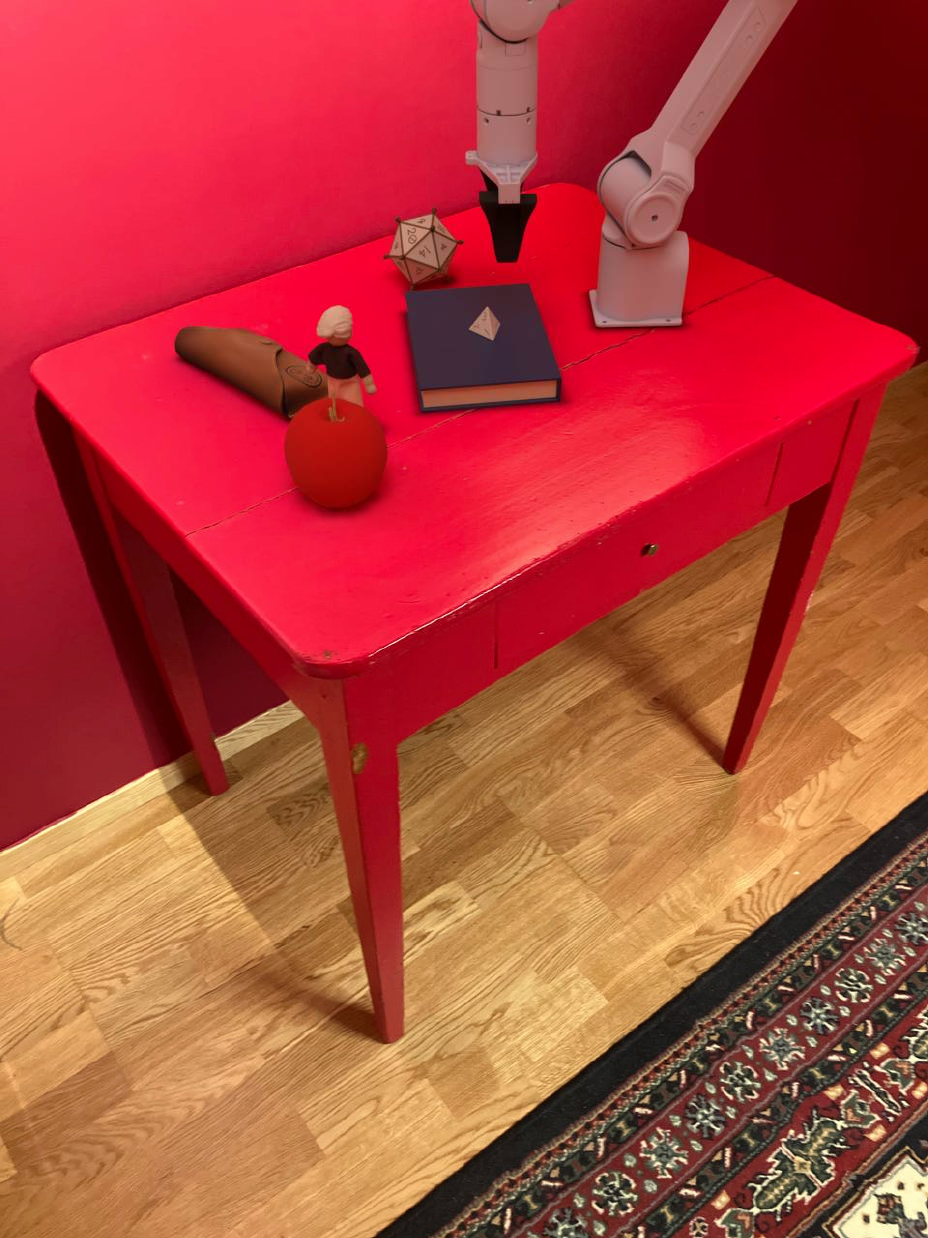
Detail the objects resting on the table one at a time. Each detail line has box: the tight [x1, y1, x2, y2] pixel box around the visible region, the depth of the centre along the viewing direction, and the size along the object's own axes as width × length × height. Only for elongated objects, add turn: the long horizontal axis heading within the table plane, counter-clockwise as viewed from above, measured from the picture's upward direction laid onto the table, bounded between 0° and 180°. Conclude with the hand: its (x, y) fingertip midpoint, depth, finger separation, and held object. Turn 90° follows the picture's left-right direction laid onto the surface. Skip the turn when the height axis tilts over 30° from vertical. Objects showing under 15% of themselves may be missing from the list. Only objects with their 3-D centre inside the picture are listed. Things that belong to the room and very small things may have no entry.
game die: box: [381, 205, 466, 291], centre depth 118 cm, size 9×8×10 cm
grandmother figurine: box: [306, 305, 378, 408], centre depth 95 cm, size 8×4×13 cm, turn 71°
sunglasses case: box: [173, 325, 329, 420], centre depth 105 cm, size 18×7×7 cm
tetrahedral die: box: [469, 307, 500, 341], centre depth 106 cm, size 4×3×3 cm
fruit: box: [283, 390, 389, 508], centre depth 89 cm, size 9×9×10 cm
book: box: [404, 282, 563, 414], centre depth 108 cm, size 14×20×3 cm
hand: (505, 244), depth 106 cm, fingers open, 7 cm apart
